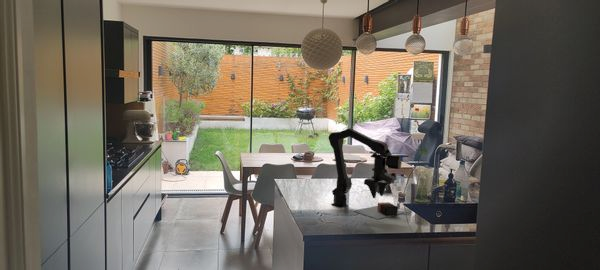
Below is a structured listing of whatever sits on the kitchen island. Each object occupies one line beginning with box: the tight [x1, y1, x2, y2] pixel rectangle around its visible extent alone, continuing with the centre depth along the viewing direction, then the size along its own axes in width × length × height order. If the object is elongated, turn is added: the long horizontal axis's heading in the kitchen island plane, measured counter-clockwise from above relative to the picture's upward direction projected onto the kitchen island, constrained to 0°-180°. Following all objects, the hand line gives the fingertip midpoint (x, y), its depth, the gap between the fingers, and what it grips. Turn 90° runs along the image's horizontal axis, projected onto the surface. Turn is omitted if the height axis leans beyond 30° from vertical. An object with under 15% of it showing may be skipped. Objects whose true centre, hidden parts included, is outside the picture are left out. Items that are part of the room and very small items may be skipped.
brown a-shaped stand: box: [376, 184, 393, 194], centre depth 266 cm, size 9×6×12 cm, turn 100°
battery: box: [377, 201, 399, 217], centre depth 218 cm, size 4×7×10 cm
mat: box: [353, 205, 404, 220], centre depth 220 cm, size 16×20×1 cm
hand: (377, 197), depth 219 cm, fingers open, 7 cm apart
